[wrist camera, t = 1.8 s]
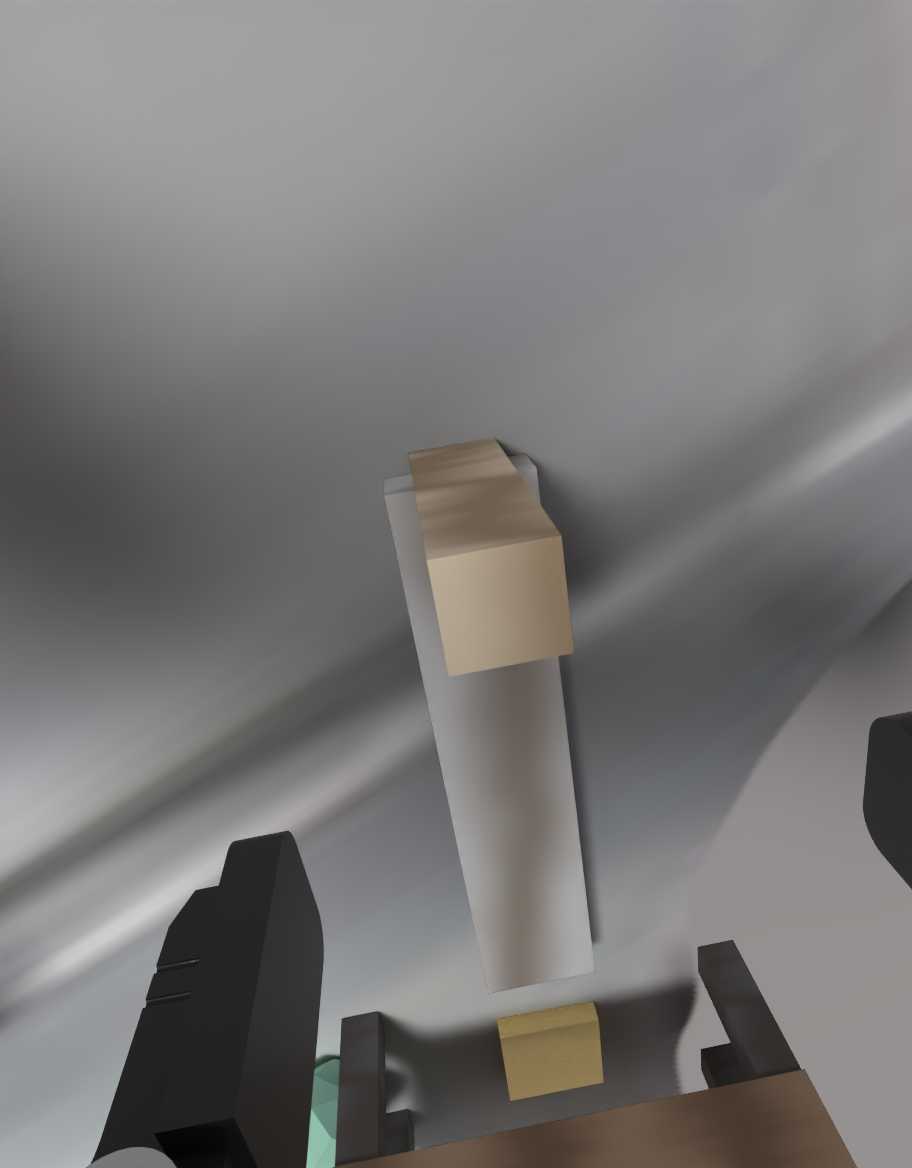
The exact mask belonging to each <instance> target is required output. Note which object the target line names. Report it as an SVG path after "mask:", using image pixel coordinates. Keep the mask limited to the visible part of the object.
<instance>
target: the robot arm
mask: <svg viewBox="0 0 912 1168" xmlns="http://www.w3.org/2000/svg"><path fill="white" fill-rule="evenodd" d="M864 788H865V789H864V799H863V812H864V818H865V822H866V825H867V828H868V830H869V833H870V835H871V837H872V839H873V841H874V843H875V845H876V846H877V848H878V849H879V851H880V852H881V853H882V855H883V856H884V857H885V858H886V859H887V861H888V862H889V863H890V864H891V865H892V866H893V868H894V869H895V870H896V871H897V872H898V873H899V875H900V876H901V877H902V878H903V879H904V880H905V882H906V883H907V884H908V885H909V886H910V888H911V889H912V712H907V713H902V714H896V715H891V716H886V717H881V718H878V719H876V720H875V721H874V722H873V723H872V725H871V728H870V733H869V743H868V754H867V766H866V776H865V787H864ZM323 959H324V946H323V933H322V925H321V920H320V915H319V911H318V908H317V905H316V902H315V899H314V896H313V893H312V890H311V887H310V884H309V881H308V878H307V875H306V872H305V869H304V866H303V863H302V860H301V857H300V854H299V851H298V848H297V845H296V842H295V839H294V837H293V835H292V834H291V832H289V831H284V832H279V833H274V834H269V835H264V836H258V837H253V838H248V839H243V840H238V841H234V842H232V844H231V845H230V847H229V849H228V853H227V856H226V860H225V864H224V868H223V872H222V875H221V879H220V883H219V886H214V887H209V888H204V889H199V890H195V892H194V893H193V894H192V896H191V897H190V899H189V900H188V901H187V903H186V904H185V905H184V907H183V908H182V909H181V911H180V912H179V914H178V915H177V916H176V918H175V919H174V920H173V922H172V923H171V925H170V926H169V928H168V931H167V935H166V938H165V941H164V944H163V947H162V950H161V953H160V956H159V959H158V963H157V973H156V974H154V975H153V978H152V981H151V984H150V987H149V991H148V994H147V997H146V1008H143V1009H142V1012H141V1015H140V1019H139V1022H138V1025H137V1028H136V1031H135V1034H134V1037H133V1040H132V1043H131V1047H130V1050H129V1053H128V1056H127V1059H126V1062H125V1065H124V1068H123V1071H122V1075H121V1078H120V1081H119V1084H118V1087H117V1090H116V1093H115V1096H114V1099H113V1103H112V1106H111V1109H110V1112H109V1115H108V1118H107V1121H106V1124H105V1127H104V1131H103V1134H102V1137H101V1140H100V1143H99V1145H98V1148H97V1151H96V1153H95V1156H94V1158H93V1160H92V1162H91V1164H90V1165H89V1166H87V1167H86V1168H306V1165H307V1153H308V1141H309V1129H310V1117H311V1105H312V1093H313V1081H314V1069H315V1057H316V1045H317V1033H318V1021H319V1009H320V997H321V985H322V973H323Z"/></svg>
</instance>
